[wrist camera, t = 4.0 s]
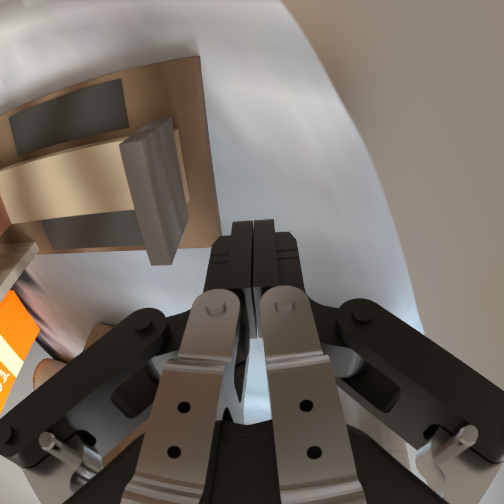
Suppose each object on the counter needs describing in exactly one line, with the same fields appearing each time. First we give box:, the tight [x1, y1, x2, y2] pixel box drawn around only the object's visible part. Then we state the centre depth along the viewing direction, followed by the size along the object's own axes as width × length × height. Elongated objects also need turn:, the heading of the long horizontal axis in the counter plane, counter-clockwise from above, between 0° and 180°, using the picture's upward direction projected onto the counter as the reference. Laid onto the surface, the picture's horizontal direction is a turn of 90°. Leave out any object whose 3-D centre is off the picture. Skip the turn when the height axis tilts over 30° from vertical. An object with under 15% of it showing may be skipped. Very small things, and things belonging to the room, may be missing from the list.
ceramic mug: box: [33, 358, 67, 391], centre depth 39 cm, size 11×8×8 cm
